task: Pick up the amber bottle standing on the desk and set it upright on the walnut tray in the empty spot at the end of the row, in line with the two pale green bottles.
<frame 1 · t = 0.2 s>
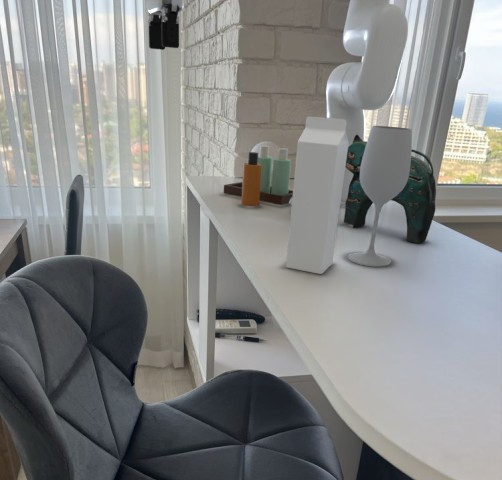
hand: (163, 48, 99), 31 cm above the table, tool pointing down, fingers open, 9 cm apart
amber bottle: (250, 206, 119), on the table
bunny figurine: (310, 223, 108), on the table
wineglass: (369, 261, 86), on the table
milk: (309, 267, 81), on the table
bottle a: (279, 200, 125), point 1 cm above the table, touching tray
bottle b: (261, 196, 127), point 1 cm above the table, touching tray
tray: (261, 198, 128), on the table
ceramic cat: (381, 233, 104), on the table
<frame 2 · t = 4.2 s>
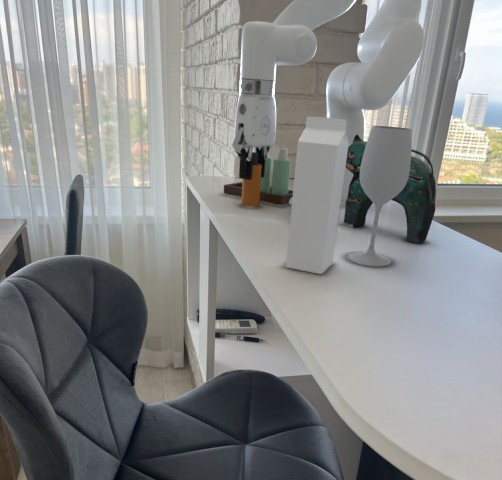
hand: (251, 176, 116), 7 cm above the table, tool pointing down, fingers closed on amber bottle, 4 cm apart
amber bottle: (250, 206, 119), on the table, touching gripper
everything else where it was.
when the fingers open (7 cm above the table, at t = 11.8 s): amber bottle stays where it is, resting on tray.
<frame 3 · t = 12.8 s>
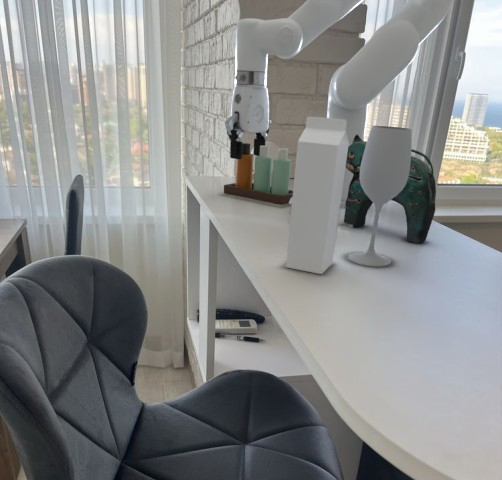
hand: (247, 157, 126), 9 cm above the table, tool pointing down, fingers open, 9 cm apart
amber bottle: (243, 192, 130), point 1 cm above the table, touching tray
everything else where it was.
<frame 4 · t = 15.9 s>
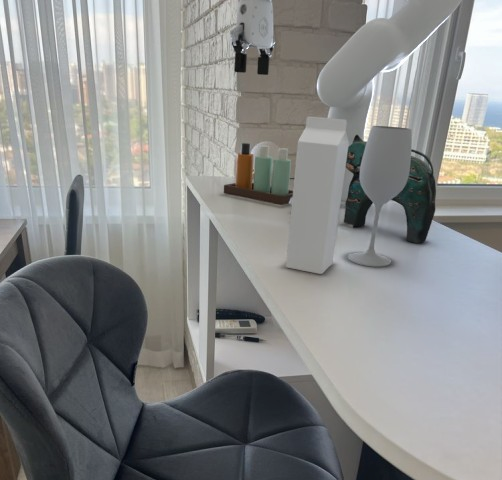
hand: (251, 73, 128), 28 cm above the table, tool pointing down, fingers open, 9 cm apart
nothing on the table moved.
at the end: amber bottle 0.2 cm from the target spot in the tray, point 0.6 cm above the tray's base; amber bottle tilted 0°; bottle b moved 0.0 cm from its start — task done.
